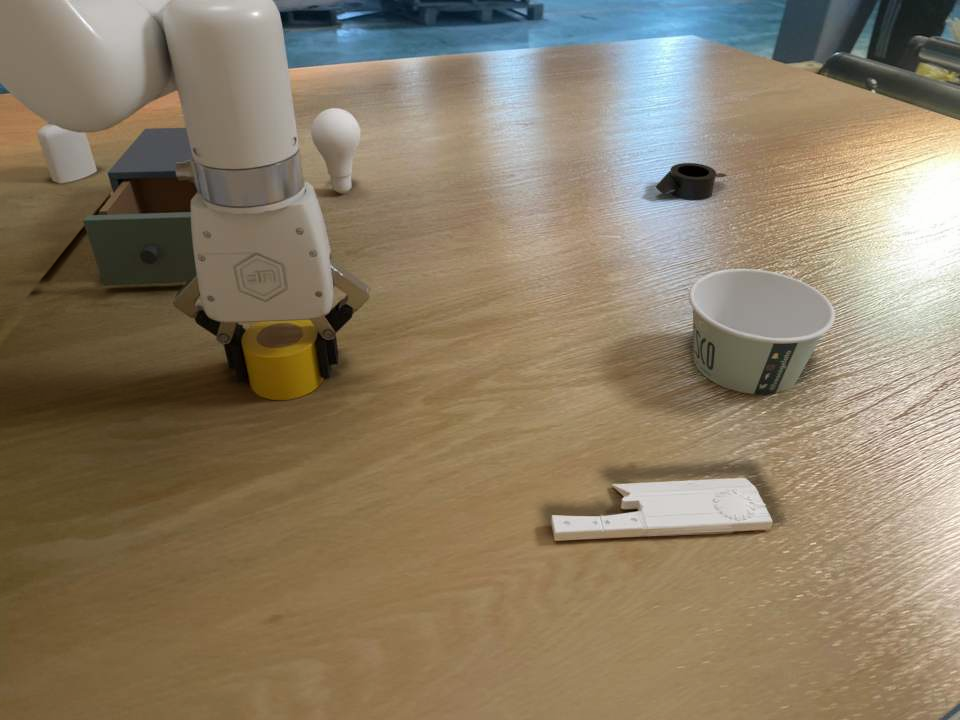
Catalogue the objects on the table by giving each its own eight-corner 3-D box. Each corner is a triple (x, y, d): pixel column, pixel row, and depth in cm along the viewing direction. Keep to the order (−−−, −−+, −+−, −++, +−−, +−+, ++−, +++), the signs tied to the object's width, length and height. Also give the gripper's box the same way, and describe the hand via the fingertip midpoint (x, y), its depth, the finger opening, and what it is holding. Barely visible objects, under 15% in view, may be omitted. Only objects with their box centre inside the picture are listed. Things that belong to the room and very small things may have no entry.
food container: (845, 390, 66) (867, 326, 62) (722, 415, 63) (737, 350, 59) (764, 319, 75) (780, 260, 71) (654, 338, 72) (664, 277, 68)
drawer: (213, 286, 78) (198, 221, 74) (99, 291, 78) (78, 225, 73) (239, 225, 90) (227, 166, 86) (140, 228, 90) (124, 169, 85)
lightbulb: (373, 195, 100) (366, 111, 94) (331, 206, 97) (321, 120, 91) (352, 180, 104) (344, 99, 98) (311, 190, 101) (300, 107, 95)
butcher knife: (544, 488, 56) (545, 477, 55) (745, 480, 57) (748, 469, 56) (554, 541, 52) (555, 529, 51) (770, 531, 52) (774, 520, 52)
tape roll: (244, 402, 64) (234, 358, 62) (256, 358, 69) (247, 316, 67) (321, 398, 65) (314, 354, 62) (327, 355, 70) (321, 313, 67)
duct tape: (648, 179, 105) (651, 159, 103) (722, 181, 104) (726, 161, 102) (655, 202, 98) (658, 181, 97) (733, 205, 98) (738, 183, 96)
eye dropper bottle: (53, 181, 104) (23, 91, 97) (98, 174, 106) (71, 86, 99) (55, 193, 100) (24, 101, 94) (101, 185, 103) (74, 94, 96)
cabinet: (240, 244, 88) (225, 169, 83) (129, 248, 87) (106, 172, 82) (260, 194, 100) (248, 125, 95) (162, 197, 99) (144, 128, 94)
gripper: (114, 199, 53) (174, 403, 63) (366, 192, 54) (385, 393, 64) (145, 160, 59) (195, 351, 69) (370, 154, 60) (386, 343, 70)
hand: (286, 370), depth 66 cm, fingers closed on tape roll, 6 cm apart
